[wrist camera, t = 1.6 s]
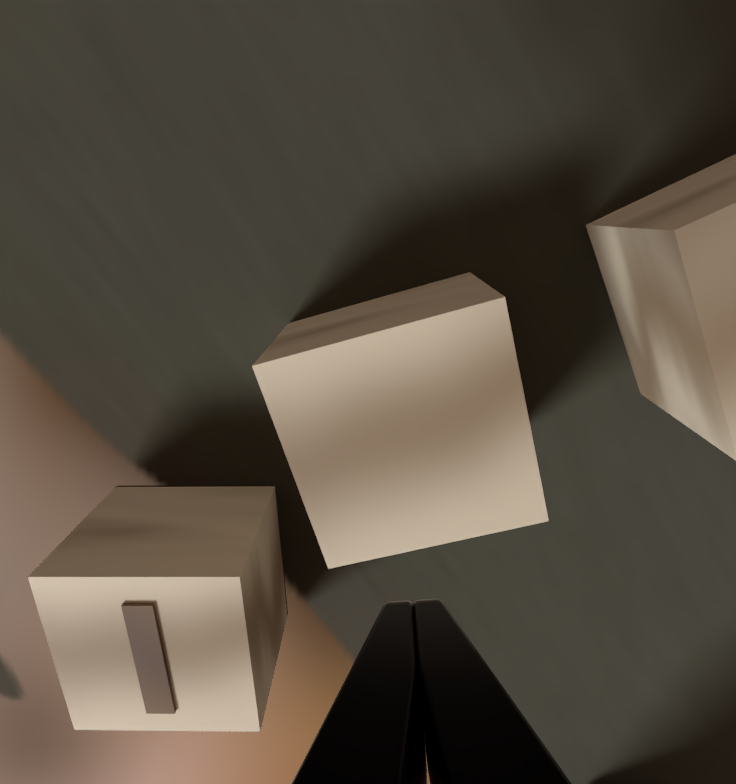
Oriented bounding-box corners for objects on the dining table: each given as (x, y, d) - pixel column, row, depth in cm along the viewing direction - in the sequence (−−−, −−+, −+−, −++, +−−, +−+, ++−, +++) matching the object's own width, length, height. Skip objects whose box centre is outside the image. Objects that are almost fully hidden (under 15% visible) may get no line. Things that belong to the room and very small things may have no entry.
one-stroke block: (287, 613, 21) (259, 735, 16) (143, 612, 21) (72, 733, 16) (275, 484, 19) (238, 579, 14) (116, 485, 19) (24, 579, 14)
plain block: (504, 439, 18) (548, 520, 13) (342, 477, 18) (328, 568, 14) (468, 271, 16) (505, 297, 11) (289, 322, 17) (252, 365, 12)
